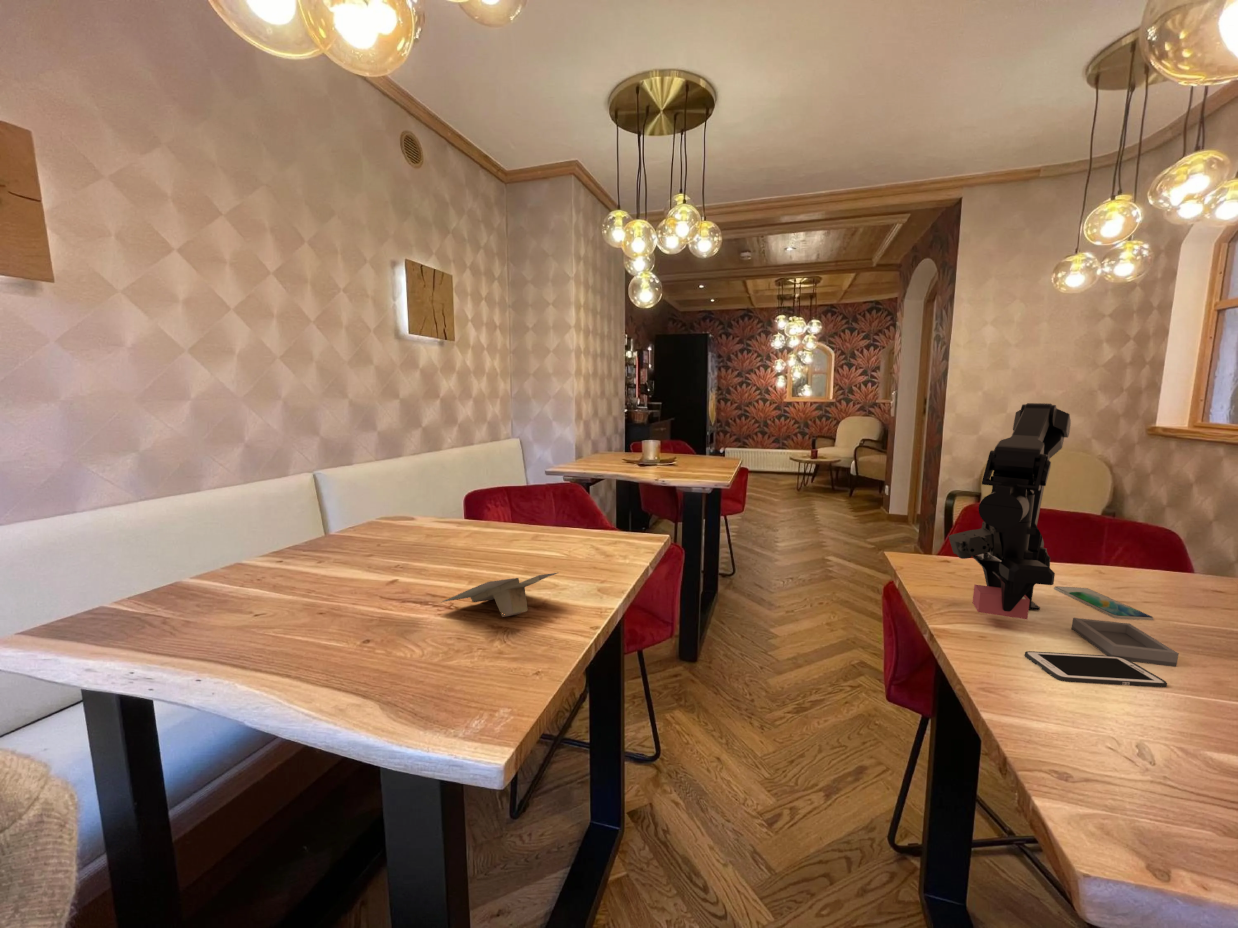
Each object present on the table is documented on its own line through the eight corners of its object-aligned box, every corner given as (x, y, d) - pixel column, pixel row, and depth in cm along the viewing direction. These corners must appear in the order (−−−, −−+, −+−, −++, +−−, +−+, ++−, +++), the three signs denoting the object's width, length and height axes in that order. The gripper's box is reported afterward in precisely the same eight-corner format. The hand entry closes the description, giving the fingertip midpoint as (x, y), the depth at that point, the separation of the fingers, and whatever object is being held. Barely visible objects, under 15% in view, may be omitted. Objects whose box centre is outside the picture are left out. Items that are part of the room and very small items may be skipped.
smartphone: (1087, 587, 109) (1156, 617, 94) (1087, 591, 109) (1155, 622, 94) (1052, 585, 110) (1115, 615, 95) (1051, 589, 110) (1114, 620, 95)
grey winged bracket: (449, 648, 88) (493, 610, 80) (436, 601, 92) (478, 560, 84) (526, 632, 100) (571, 597, 92) (513, 590, 104) (555, 554, 96)
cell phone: (1021, 656, 81) (1021, 650, 81) (1122, 662, 80) (1123, 656, 80) (1057, 683, 73) (1058, 676, 73) (1170, 690, 72) (1171, 683, 72)
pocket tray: (1071, 629, 90) (1073, 617, 90) (1127, 635, 88) (1129, 623, 88) (1111, 658, 80) (1113, 645, 80) (1176, 666, 78) (1178, 653, 78)
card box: (978, 611, 90) (980, 592, 90) (972, 602, 94) (974, 583, 94) (1027, 619, 87) (1029, 599, 87) (1019, 609, 92) (1021, 590, 91)
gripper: (938, 504, 100) (931, 581, 102) (979, 528, 82) (968, 621, 84) (1005, 508, 97) (996, 587, 99) (1062, 533, 79) (1049, 630, 81)
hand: (999, 604), depth 91 cm, fingers closed on card box, 5 cm apart
